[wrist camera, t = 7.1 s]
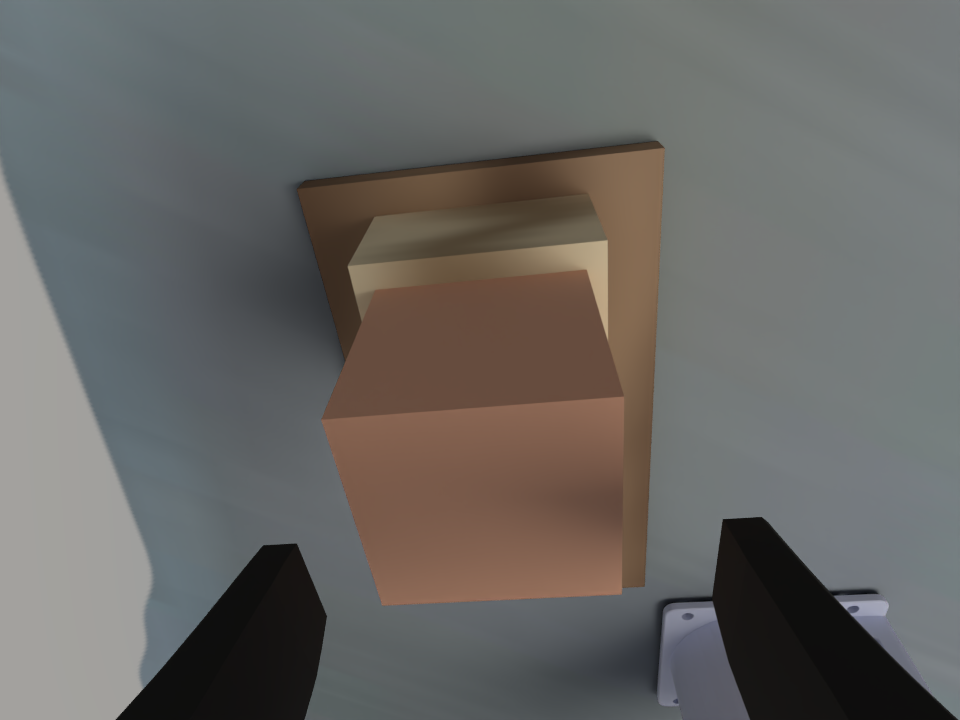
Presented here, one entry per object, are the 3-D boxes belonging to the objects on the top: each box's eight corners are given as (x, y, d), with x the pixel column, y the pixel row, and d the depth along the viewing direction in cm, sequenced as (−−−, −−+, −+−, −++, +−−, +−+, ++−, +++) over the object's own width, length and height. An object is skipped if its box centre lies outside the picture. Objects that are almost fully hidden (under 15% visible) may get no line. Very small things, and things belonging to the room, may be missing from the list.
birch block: (588, 194, 16) (607, 240, 13) (592, 375, 19) (608, 444, 16) (374, 216, 17) (347, 266, 14) (412, 389, 20) (396, 459, 17)
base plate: (657, 141, 16) (664, 148, 16) (640, 570, 26) (644, 586, 25) (304, 180, 17) (296, 189, 16) (414, 581, 27) (412, 597, 26)
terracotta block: (586, 269, 14) (623, 396, 9) (591, 436, 16) (621, 594, 12) (375, 289, 14) (321, 419, 10) (412, 449, 17) (382, 605, 13)
